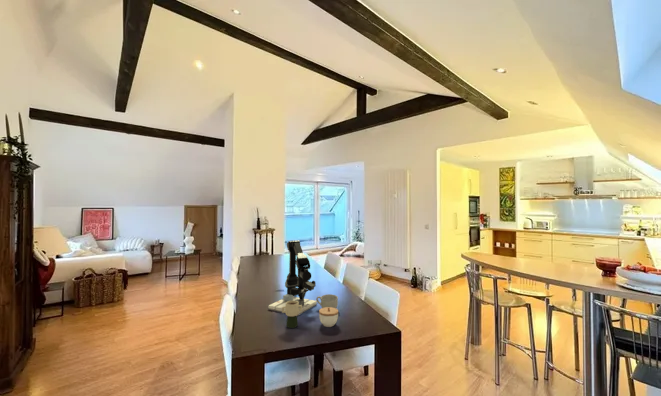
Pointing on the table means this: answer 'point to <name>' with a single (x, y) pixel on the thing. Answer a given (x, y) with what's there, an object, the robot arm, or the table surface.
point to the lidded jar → (328, 316)
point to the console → (281, 303)
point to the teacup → (328, 301)
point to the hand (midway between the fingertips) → (302, 301)
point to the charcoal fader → (300, 301)
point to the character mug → (292, 313)
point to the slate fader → (287, 297)
